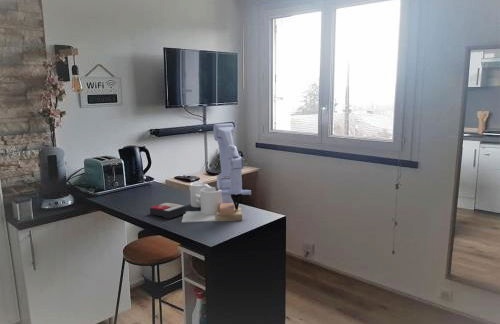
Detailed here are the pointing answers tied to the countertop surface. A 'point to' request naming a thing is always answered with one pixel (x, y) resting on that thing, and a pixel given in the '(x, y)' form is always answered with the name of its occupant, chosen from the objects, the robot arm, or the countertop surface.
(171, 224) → the countertop surface
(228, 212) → the tile
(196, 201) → the bracket
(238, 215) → the board
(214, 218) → the mat
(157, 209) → the red and grey box
